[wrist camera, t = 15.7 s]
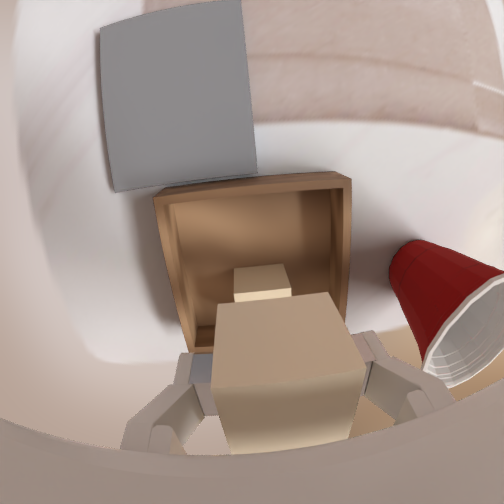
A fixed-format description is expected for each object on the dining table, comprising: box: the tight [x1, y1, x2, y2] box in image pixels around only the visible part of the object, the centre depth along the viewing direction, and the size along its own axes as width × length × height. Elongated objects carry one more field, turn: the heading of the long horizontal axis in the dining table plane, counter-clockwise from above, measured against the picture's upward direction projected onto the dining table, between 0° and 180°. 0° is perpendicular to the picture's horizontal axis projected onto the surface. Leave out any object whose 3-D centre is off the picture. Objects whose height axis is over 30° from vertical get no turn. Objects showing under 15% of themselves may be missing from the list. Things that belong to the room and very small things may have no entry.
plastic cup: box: [389, 240, 504, 388], centre depth 20 cm, size 11×11×12 cm
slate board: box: [100, 0, 258, 193], centre depth 18 cm, size 14×11×1 cm
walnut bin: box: [153, 172, 352, 353], centre depth 23 cm, size 13×13×4 cm
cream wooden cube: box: [211, 292, 367, 455], centre depth 9 cm, size 4×4×4 cm
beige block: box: [234, 264, 291, 302], centre depth 23 cm, size 4×4×4 cm
